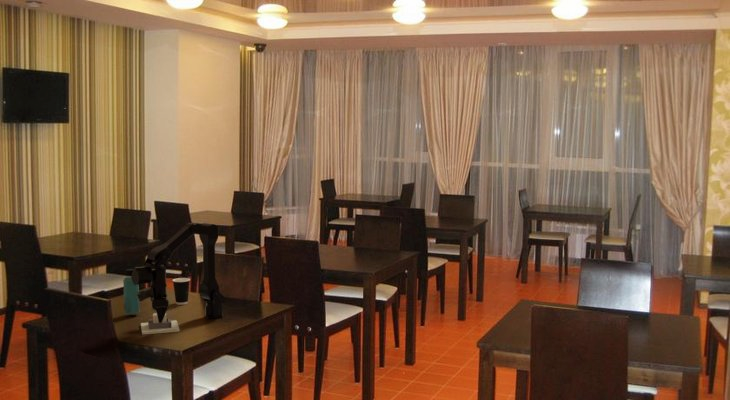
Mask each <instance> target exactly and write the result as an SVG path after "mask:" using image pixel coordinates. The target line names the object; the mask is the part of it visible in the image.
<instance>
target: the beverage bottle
mask: <svg viewBox="0 0 730 400" xmlns="http://www.w3.org/2000/svg"><path fill="white" fill-rule="evenodd" d="M133 271H134V268H128V269H125V273H124V274H125V276H126V277H124V278H123V280H122V282H123V303H124V305H123V311H124V313H125V314H128V315H135V314H138V313H140V311H141V307H140V306H141V302H140V301H139V299H138V297H137V294H136V293H137V292H138V291H140V289H139V288H140V286H139V285H140V284H139V285H134V284H133V282H132V279H131V275H132V272H133Z"/></svg>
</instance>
